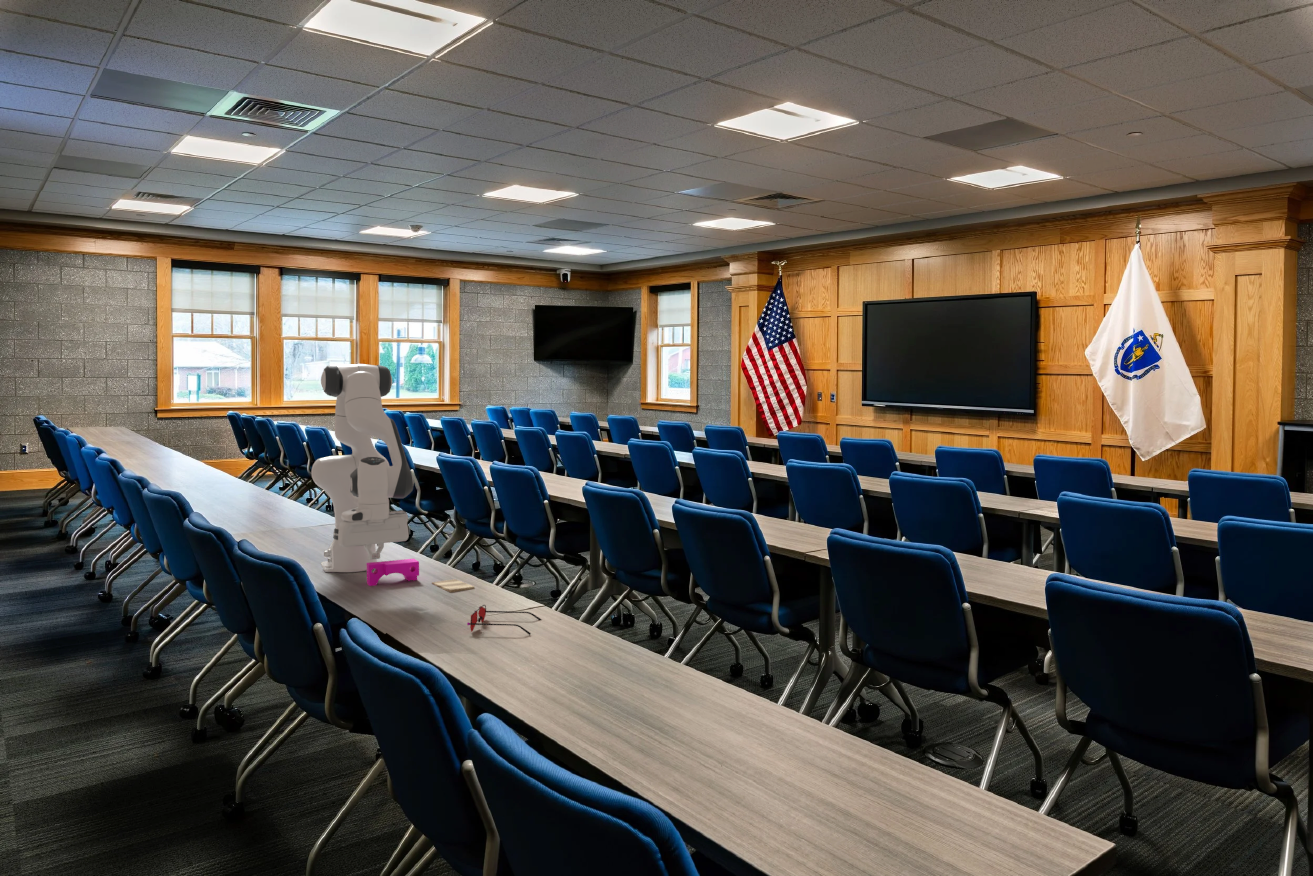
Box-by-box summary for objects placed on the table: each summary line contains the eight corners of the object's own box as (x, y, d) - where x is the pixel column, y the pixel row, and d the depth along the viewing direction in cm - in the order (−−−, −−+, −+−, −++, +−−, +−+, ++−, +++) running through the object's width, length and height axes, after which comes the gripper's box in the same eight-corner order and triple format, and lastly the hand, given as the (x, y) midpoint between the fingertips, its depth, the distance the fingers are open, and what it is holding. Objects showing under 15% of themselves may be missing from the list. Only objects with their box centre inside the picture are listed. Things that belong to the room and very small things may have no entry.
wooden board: (431, 586, 282) (431, 582, 282) (455, 582, 287) (455, 579, 287) (450, 593, 271) (450, 590, 271) (474, 590, 276) (474, 586, 276)
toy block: (419, 561, 285) (419, 584, 285) (413, 558, 290) (414, 581, 290) (370, 566, 277) (371, 590, 278) (366, 562, 283) (366, 586, 283)
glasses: (482, 620, 241) (482, 602, 241) (542, 621, 239) (542, 603, 239) (466, 634, 227) (466, 614, 227) (530, 635, 226) (530, 616, 225)
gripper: (403, 508, 272) (404, 553, 272) (335, 514, 259) (336, 561, 260) (411, 510, 267) (412, 556, 267) (342, 516, 254) (343, 564, 255)
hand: (374, 558), depth 264 cm, fingers closed
